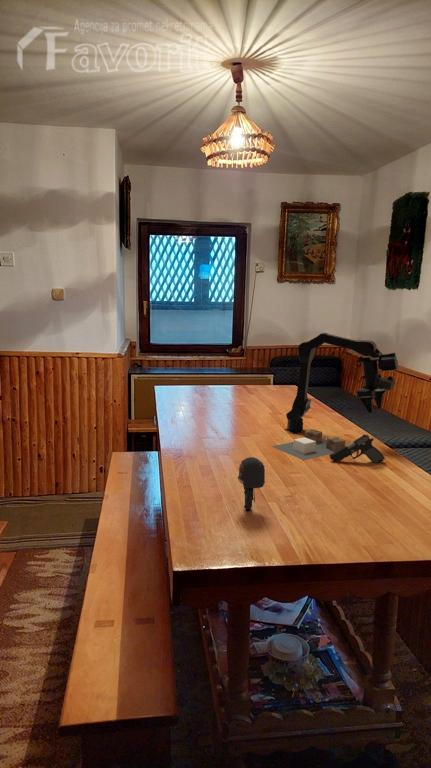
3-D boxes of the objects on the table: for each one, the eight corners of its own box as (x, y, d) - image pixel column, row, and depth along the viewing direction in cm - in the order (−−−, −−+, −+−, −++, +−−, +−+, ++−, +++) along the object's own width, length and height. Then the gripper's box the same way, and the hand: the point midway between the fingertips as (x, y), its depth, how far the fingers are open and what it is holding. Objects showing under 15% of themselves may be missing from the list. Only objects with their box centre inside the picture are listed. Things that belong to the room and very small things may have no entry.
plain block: (292, 449, 193) (293, 439, 192) (304, 447, 196) (304, 437, 196) (303, 453, 188) (304, 443, 187) (315, 451, 191) (315, 441, 191)
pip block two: (326, 448, 196) (326, 437, 195) (335, 446, 198) (336, 436, 197) (334, 451, 192) (335, 441, 191) (344, 450, 194) (345, 440, 193)
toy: (234, 502, 145) (236, 452, 142) (260, 501, 146) (263, 453, 143) (238, 516, 136) (240, 464, 133) (266, 516, 137) (269, 464, 134)
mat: (271, 447, 196) (271, 446, 196) (317, 437, 210) (317, 437, 210) (303, 461, 181) (303, 460, 181) (351, 449, 196) (351, 448, 196)
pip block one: (304, 440, 205) (305, 430, 204) (311, 438, 208) (312, 428, 207) (314, 443, 201) (315, 433, 200) (321, 441, 205) (322, 431, 204)
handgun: (384, 457, 182) (368, 430, 180) (386, 459, 181) (370, 432, 178) (343, 480, 184) (328, 454, 182) (345, 482, 182) (329, 456, 180)
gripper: (381, 374, 187) (386, 415, 188) (399, 367, 201) (403, 405, 203) (353, 376, 194) (358, 415, 196) (372, 369, 208) (376, 406, 210)
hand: (375, 410), depth 201 cm, fingers open, 9 cm apart
